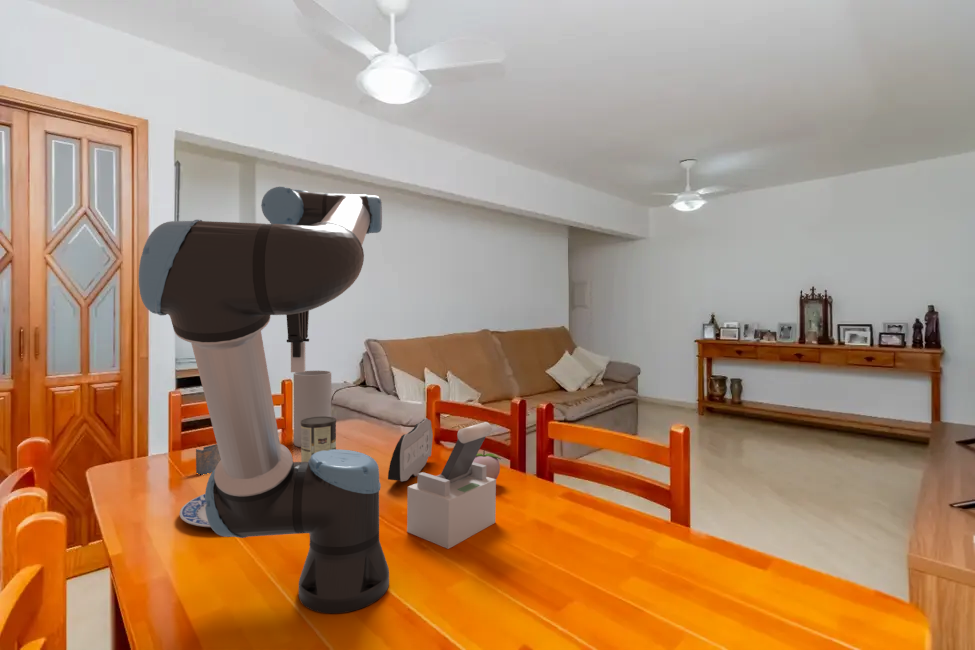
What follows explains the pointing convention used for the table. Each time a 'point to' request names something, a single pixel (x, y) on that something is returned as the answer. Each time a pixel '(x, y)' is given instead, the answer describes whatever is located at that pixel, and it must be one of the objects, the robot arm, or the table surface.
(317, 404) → the cylinder vase
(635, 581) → the table surface
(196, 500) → the ceramic plate
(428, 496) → the box
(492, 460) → the decorative fruit
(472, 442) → the lever
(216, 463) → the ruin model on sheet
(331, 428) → the coffee can
